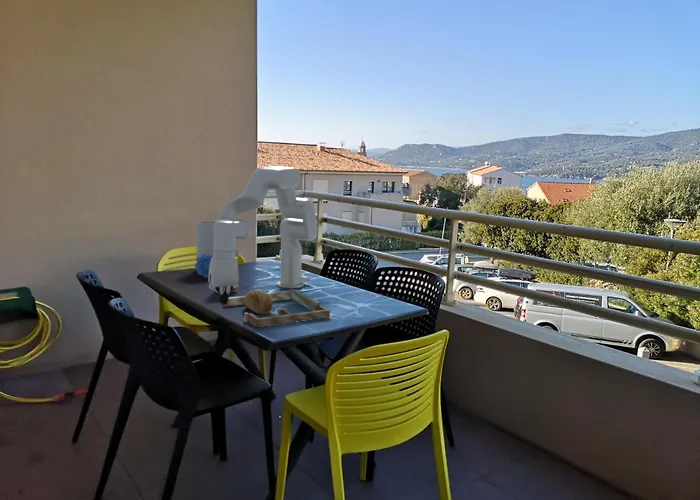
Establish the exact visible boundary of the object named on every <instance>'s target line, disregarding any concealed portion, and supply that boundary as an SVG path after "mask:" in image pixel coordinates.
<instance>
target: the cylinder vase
mask: <svg viewBox="0 0 700 500" xmlns="http://www.w3.org/2000/svg"><path fill="white" fill-rule="evenodd" d="M215 222H216V220H203V221H202V220H200V221H196V259H197V258H198V257H201V256H202V254H206V255H207V256H208V255H212V256H213V258H214V223H215ZM196 263H198V262H197V261H196ZM196 271H198V269H196Z"/></svg>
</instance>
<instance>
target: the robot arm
mask: <svg viewBox="0 0 700 500" xmlns="http://www.w3.org/2000/svg"><path fill="white" fill-rule="evenodd" d="M301 181H302V174H301V172H300V170H299V169H298V168H296V167H291V166H290V167H288V166H275V165H268V166H264V167H258V168H256V169H255V170H253V172H252V174H251V176H250V178H249V180H248V182H247V184H245V185H246V186H245V187H244V189H243V191H242V193H241V194H240V195H237V197H235V198H234V199H232V200H231V201H229V202H228V203H227V204H225V205H224V206H223V207H222V208H221V210H220V212H219V214H218V216H217V217H216V219H215V221H216V222H215V223H214V258H211V262H210V267H209V277H208V278H207V280H208V283H209V286H208V289H209V290H213V291H215V290H216V291H217V292H218V293H217V292H216V291H215V292H216V293H217V294H218V302H219V304H220V305H222V306H224V305H227V302H228V298H229V294H230V293H231V292H230V291H231V290H232V289H233V288H237V289H238V288H239V280H240V275H239V274H240V273H239V263H238V264H237V259H236V258H235V257H237V255H239V253H240V252H239V250H236V240H241V241H242V240H247V239H249V238H250V237H251V236H252V234H253V232H254V227H253V224H252V222H250V221H249V220H246V219H243V218H241V219H240V218H236V217H237V216H239V215H241V214H243V213H246V212H249V211H253V210H256V209H257V208H259V207H261V206H262V205H263V203H264V200H265V198H266V197H267V194H268V192H269V191H270V190H273V191H275V196H276V200H277V205H278V209H279V213H280V216H282V217H283V218H284V219H283V220H281V222H280V223H279V234H280V240H281V242H280V243H281V244H280V245H281V246H280V247H281V252H280V253H281V254H280V280H278V281H277V282H276V285H277V286H278V287H279V288H284V289H299V288H303V287H304V286H305V281H307V282H308V281H311V277H310V276H303V275H302V263H303V262H302V257H303V256H302V255H303V248H302V244H301V242H300V241H309V242H310V241H314V240H316V238H317V236H318V228H319V227H318V222H317V216H316V209H315V205H314V203H313V201H312V200H311V199H309V198H302V197H298V196H297V194H296V190H295V189H296V188H297V187H299V185H300V183H301ZM223 286H225V289H224V292H223Z"/></svg>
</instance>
